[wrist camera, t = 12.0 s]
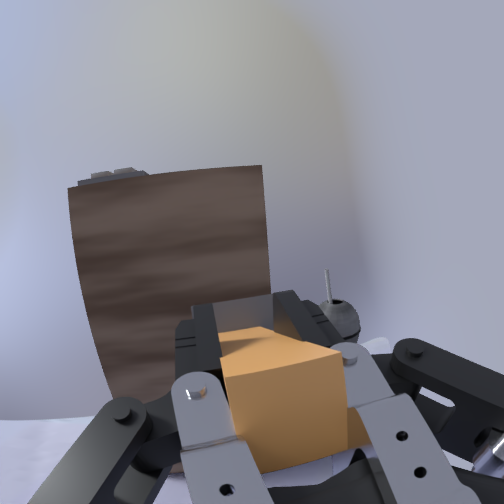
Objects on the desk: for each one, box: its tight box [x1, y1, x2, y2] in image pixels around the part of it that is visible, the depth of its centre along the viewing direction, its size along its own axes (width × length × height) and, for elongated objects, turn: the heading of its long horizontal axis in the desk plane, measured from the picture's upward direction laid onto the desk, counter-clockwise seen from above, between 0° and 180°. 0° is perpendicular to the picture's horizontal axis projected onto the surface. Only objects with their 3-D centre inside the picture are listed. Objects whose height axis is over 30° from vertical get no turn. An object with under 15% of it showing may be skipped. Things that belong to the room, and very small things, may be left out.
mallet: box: [191, 294, 348, 474], centre depth 13 cm, size 16×4×4 cm, turn 11°
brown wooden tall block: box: [68, 165, 271, 473], centre depth 29 cm, size 10×16×33 cm, turn 102°
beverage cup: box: [319, 269, 361, 344], centre depth 39 cm, size 7×7×20 cm
